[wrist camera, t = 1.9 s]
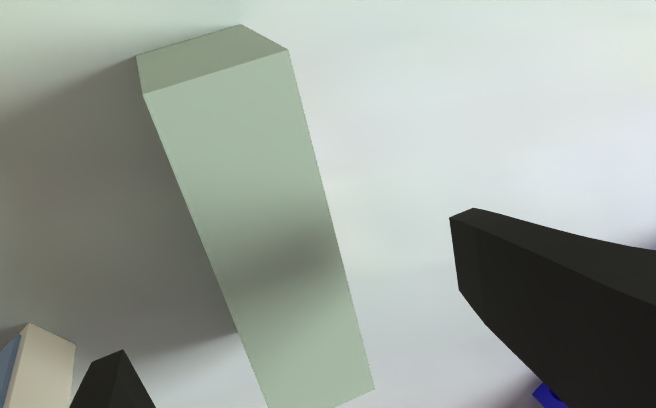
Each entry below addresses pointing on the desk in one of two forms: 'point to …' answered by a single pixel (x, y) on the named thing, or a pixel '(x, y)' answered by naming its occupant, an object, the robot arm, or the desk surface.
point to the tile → (36, 370)
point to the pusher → (260, 210)
